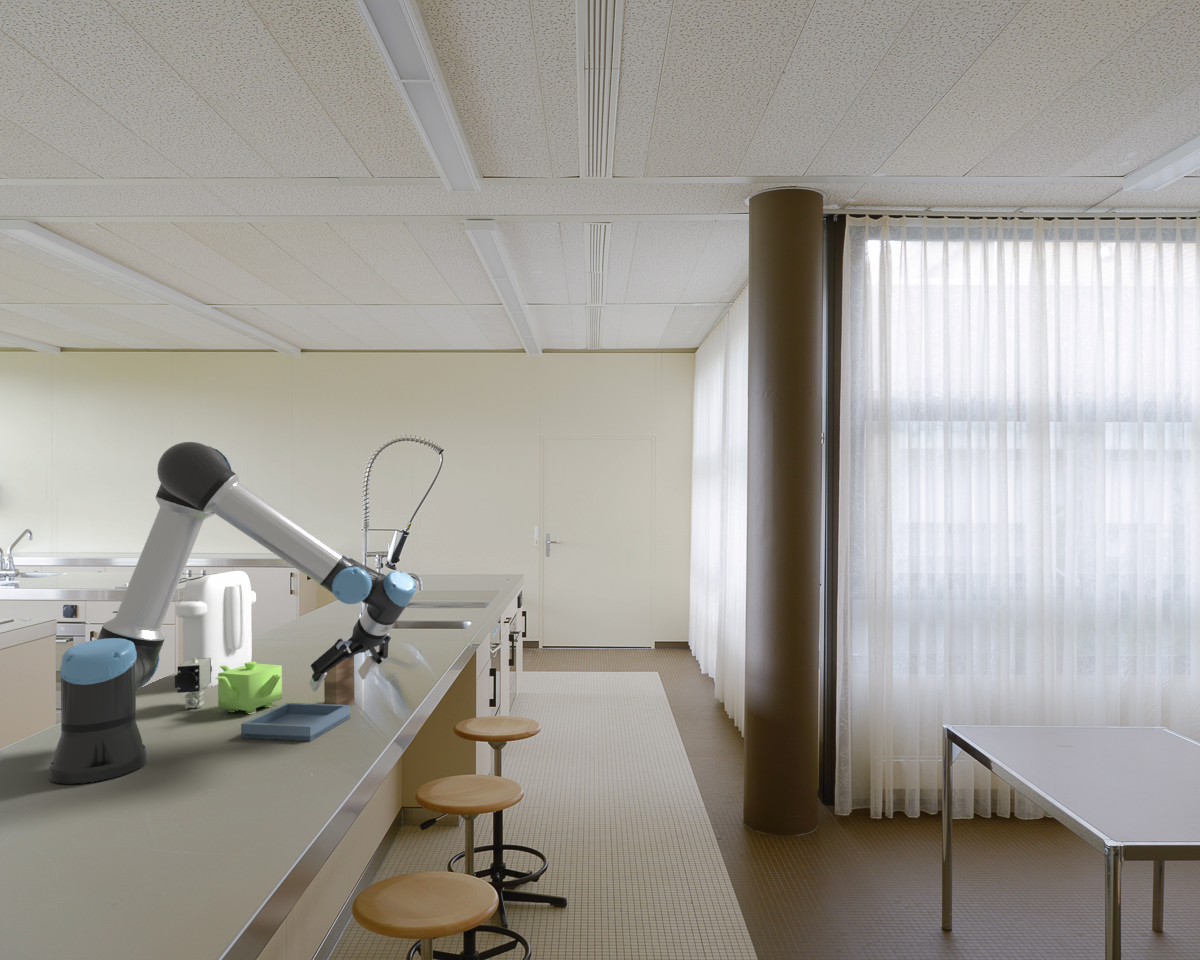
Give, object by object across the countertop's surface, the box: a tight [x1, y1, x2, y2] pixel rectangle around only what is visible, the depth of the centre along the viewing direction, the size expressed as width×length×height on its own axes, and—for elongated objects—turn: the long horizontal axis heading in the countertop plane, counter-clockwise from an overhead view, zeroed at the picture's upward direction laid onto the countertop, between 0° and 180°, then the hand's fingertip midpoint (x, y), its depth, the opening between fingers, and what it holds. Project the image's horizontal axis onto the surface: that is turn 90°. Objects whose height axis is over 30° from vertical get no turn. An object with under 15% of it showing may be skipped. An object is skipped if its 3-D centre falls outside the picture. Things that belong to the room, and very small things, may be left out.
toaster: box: [175, 570, 257, 689], centre depth 208 cm, size 27×11×30 cm, turn 171°
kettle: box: [216, 661, 283, 714], centre depth 177 cm, size 15×14×11 cm
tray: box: [240, 702, 351, 742], centre depth 162 cm, size 16×16×3 cm
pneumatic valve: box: [174, 657, 212, 710], centre depth 180 cm, size 6×12×12 cm, turn 11°
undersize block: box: [323, 655, 356, 705], centre depth 181 cm, size 5×5×14 cm
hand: (337, 680), depth 182 cm, fingers open, 13 cm apart
